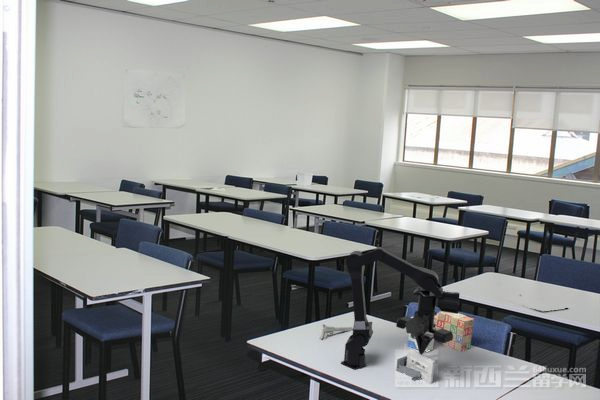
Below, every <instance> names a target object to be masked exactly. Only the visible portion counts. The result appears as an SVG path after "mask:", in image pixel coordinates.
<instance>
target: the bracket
mask: <svg viewBox="0 0 600 400" xmlns="http://www.w3.org/2000/svg"><path fill="white" fill-rule="evenodd" d="M396 361H397V362H396V368H395V369H396V370H395V371H396V372H398V373H400V374H403V373H405V374H406V375H405V374H404V375H405V376H408V377H410V378H411V380H412V381H414V382H416V381H417V380H419V381H420V380H421V379H420V374H421V372H419V371H416V370H414V369H411V368H409V367H407V366H406V364H407V356H405V355H404V356H403V357H400V358H398V359H396Z"/></svg>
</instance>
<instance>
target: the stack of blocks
mask: <svg viewBox="0 0 600 400" xmlns="http://www.w3.org/2000/svg"><path fill="white" fill-rule="evenodd" d="M434 320H435V321H436V325H435V330H440V329H445V330H448V331H451V332H452V334H453V340H451V341H448V342H446V343H441V342H438V341H435V340H434V342H437V343H440V344H441V345H442V344H443V345H444V346H447V347H449V348H451V347H452V348H451V349H454V350H456V349H457V350H456V351H459V352H464V351H467V350H469V349H468V348H470V349H471V344H472V338H473V337H472V336H473V331H474V322H475V321H474V320H475V318H473V317H469V316H467V315H465V314H462V313H459V312H458V314H455V313H449V312H442V311H441V310H440V311H438V312H437V315H436V316H434ZM466 349H467V350H466ZM463 350H464V351H463Z"/></svg>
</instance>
